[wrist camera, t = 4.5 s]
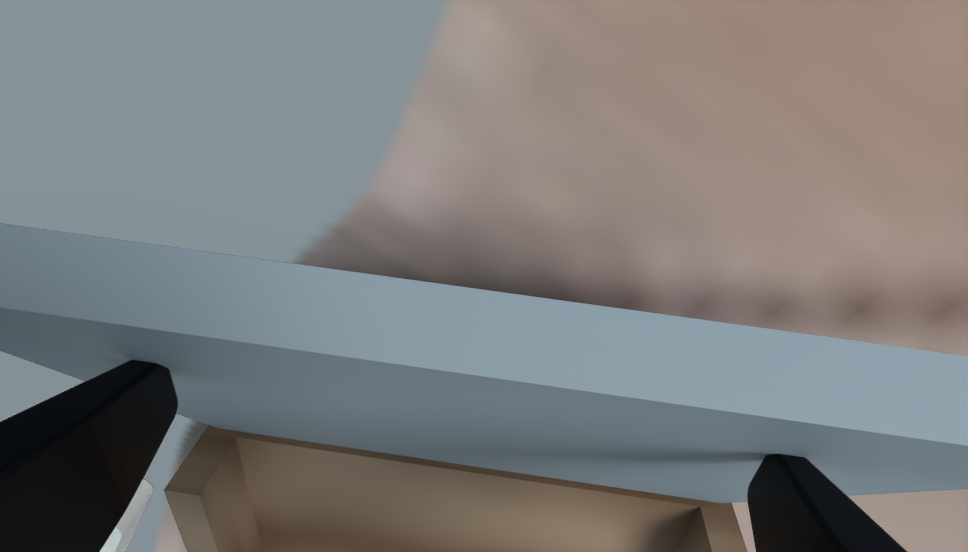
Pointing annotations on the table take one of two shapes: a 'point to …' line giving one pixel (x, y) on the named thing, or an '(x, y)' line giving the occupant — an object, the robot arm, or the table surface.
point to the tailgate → (485, 371)
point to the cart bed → (416, 505)
